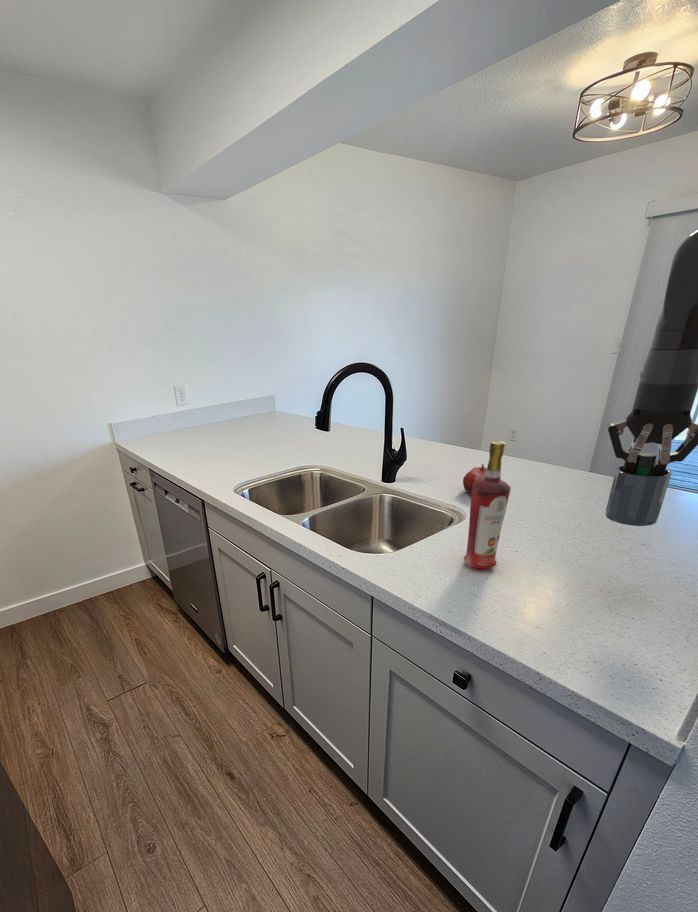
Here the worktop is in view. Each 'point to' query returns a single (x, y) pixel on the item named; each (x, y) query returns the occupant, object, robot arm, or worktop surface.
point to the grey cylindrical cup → (636, 498)
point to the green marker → (644, 464)
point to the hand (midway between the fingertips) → (640, 482)
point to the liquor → (487, 512)
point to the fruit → (473, 477)
